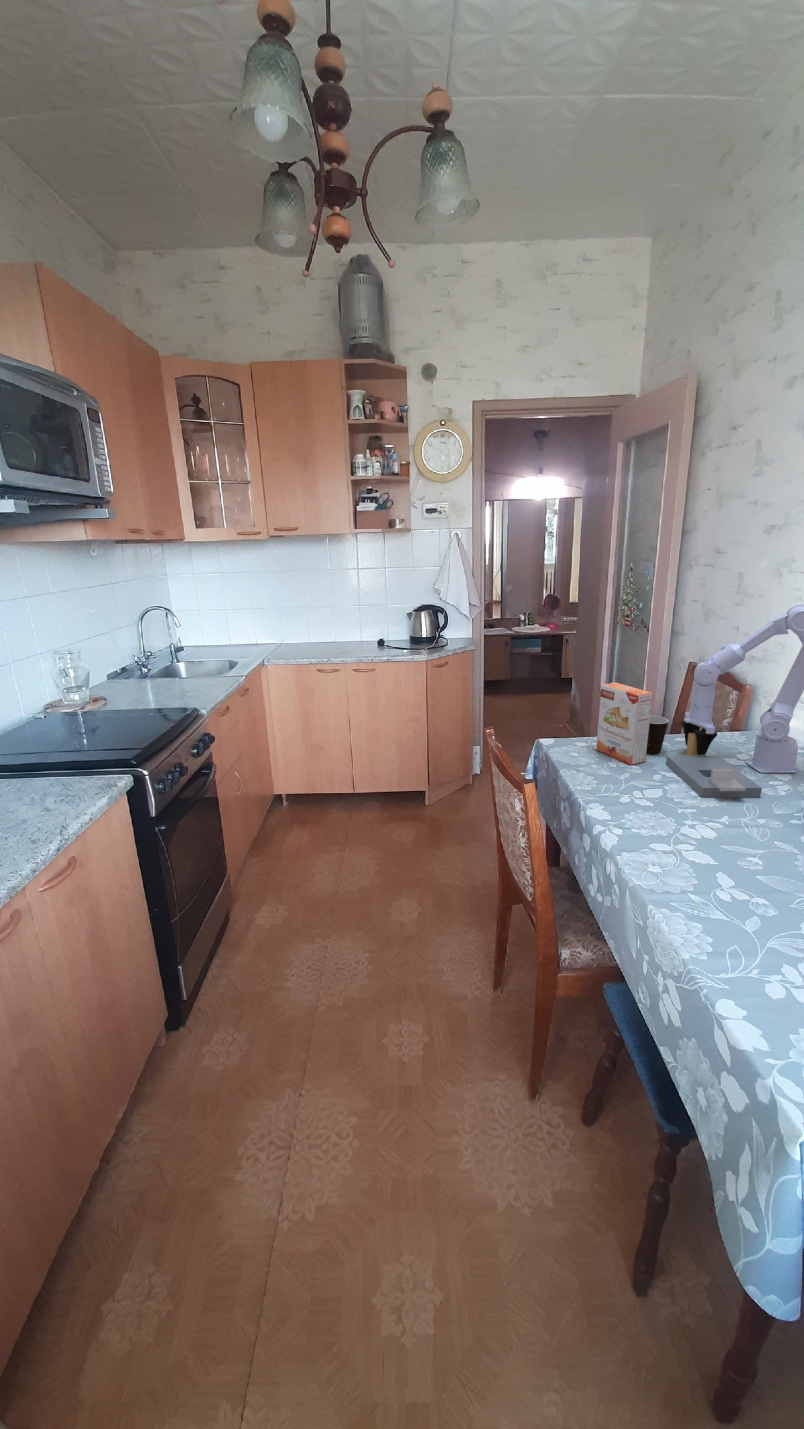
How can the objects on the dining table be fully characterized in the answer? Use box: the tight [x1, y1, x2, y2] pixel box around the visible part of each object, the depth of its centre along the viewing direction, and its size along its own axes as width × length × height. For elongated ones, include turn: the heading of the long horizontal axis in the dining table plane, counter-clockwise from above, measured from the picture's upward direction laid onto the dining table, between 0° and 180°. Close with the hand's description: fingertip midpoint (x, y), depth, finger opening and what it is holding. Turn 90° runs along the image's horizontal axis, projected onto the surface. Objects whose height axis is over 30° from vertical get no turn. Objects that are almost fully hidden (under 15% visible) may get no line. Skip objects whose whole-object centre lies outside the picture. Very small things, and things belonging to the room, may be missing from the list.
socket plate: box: [665, 755, 763, 798], centre depth 149 cm, size 14×22×2 cm, turn 177°
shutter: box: [708, 769, 746, 791], centre depth 139 cm, size 6×6×3 cm
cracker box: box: [595, 681, 654, 766], centre depth 164 cm, size 14×6×21 cm, turn 25°
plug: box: [685, 733, 705, 756], centre depth 164 cm, size 4×4×7 cm
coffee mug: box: [646, 714, 669, 756], centre depth 170 cm, size 12×9×10 cm
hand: (695, 749), depth 164 cm, fingers open, 7 cm apart
